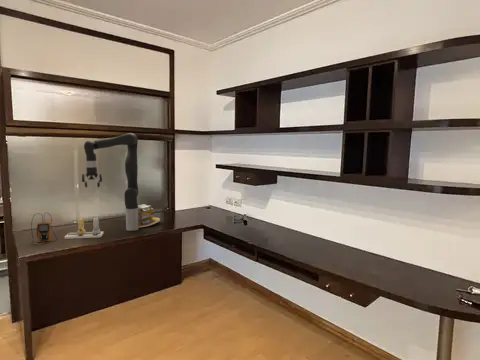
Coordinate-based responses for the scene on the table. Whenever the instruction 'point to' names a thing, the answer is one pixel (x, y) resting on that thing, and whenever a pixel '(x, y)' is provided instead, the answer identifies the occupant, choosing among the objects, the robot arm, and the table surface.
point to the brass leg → (81, 226)
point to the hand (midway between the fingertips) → (92, 187)
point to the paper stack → (146, 215)
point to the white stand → (92, 234)
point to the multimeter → (43, 231)
